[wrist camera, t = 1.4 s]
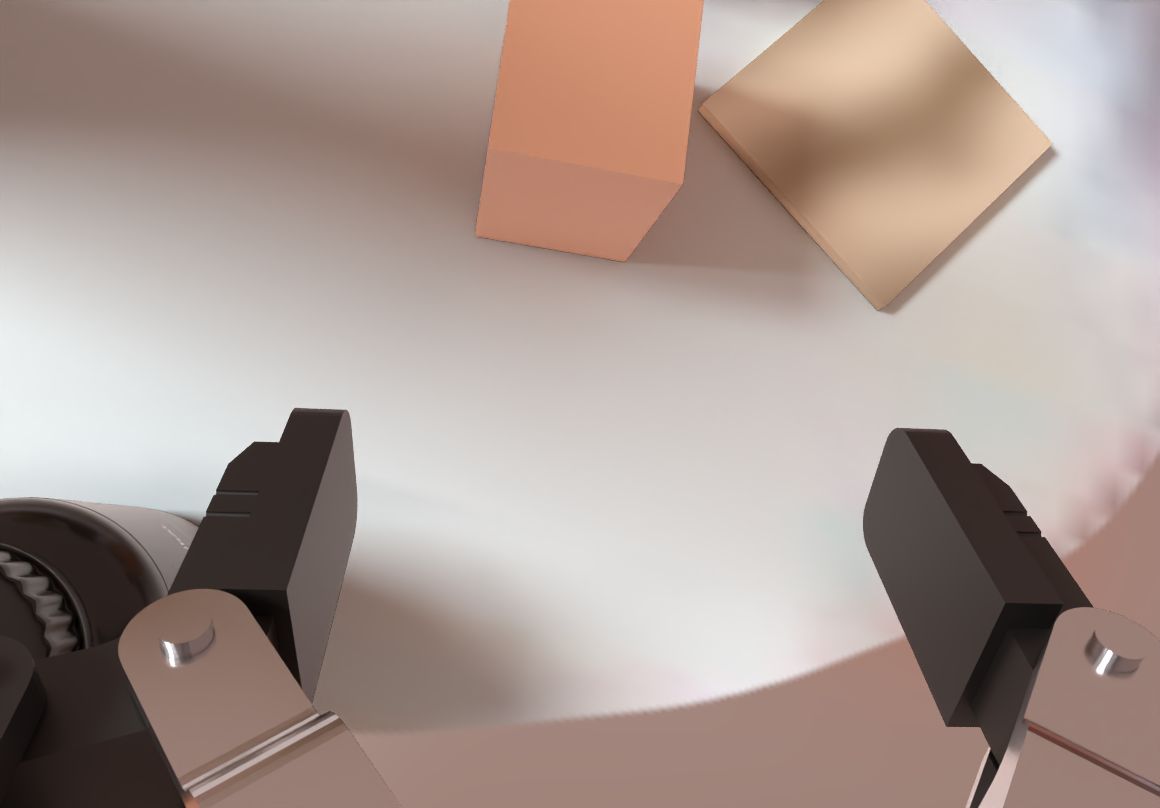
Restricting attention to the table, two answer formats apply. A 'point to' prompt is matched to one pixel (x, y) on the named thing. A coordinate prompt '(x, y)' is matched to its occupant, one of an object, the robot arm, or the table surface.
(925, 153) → the birch coaster
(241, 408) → the table surface
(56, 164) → the table surface
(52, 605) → the supplement bottle
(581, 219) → the peach rectangular brick
